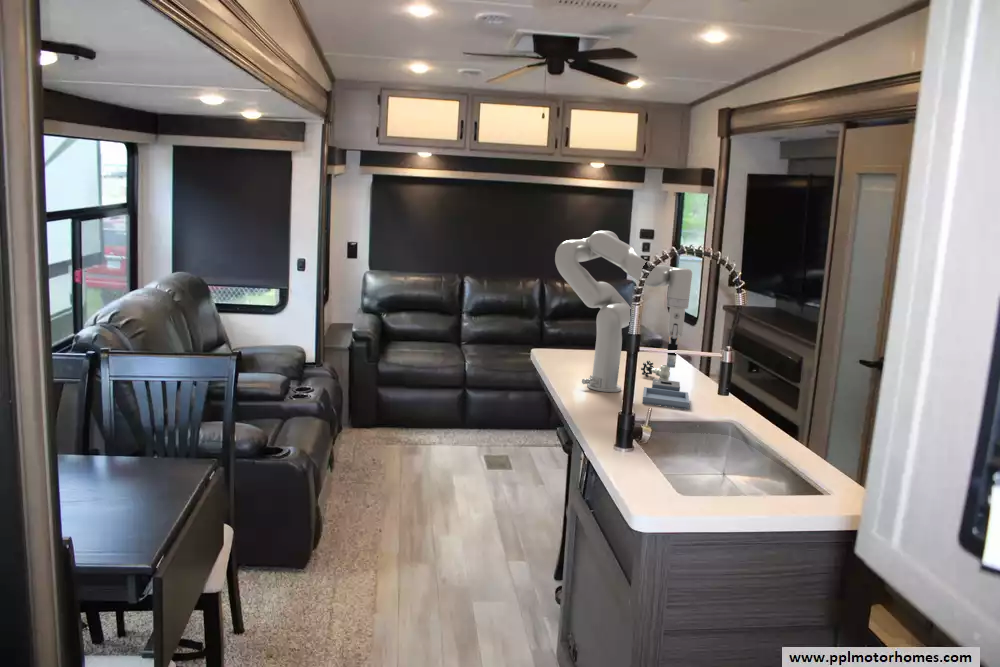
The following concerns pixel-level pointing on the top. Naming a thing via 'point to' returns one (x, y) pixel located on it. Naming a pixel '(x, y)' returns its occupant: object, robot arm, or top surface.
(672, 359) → the lock pin
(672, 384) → the block
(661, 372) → the valve
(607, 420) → the top surface
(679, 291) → the robot arm
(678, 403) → the parts tray
